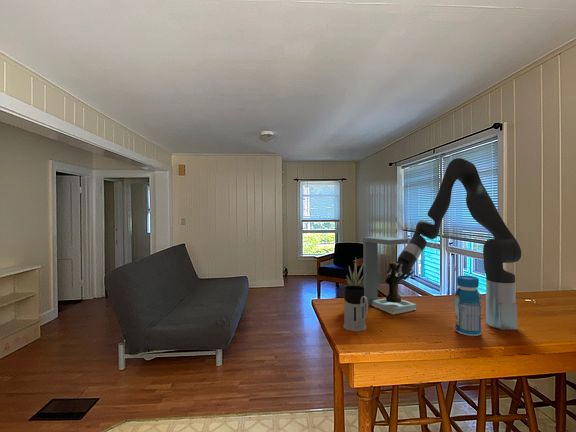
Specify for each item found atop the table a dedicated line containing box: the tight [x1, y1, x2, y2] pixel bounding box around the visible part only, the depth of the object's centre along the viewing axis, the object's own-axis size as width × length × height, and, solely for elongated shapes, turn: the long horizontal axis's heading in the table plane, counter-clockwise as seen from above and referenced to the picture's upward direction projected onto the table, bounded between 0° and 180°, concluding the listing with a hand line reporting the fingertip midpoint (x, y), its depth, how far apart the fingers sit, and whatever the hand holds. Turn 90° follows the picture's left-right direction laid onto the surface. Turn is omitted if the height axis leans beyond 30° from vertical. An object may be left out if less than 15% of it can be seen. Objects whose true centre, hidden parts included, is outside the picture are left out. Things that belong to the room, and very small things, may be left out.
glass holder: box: [342, 285, 369, 332], centre depth 116 cm, size 9×14×15 cm, turn 15°
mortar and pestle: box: [385, 261, 402, 303], centre depth 141 cm, size 7×6×18 cm
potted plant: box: [343, 258, 367, 303], centre depth 134 cm, size 10×10×25 cm
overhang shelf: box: [362, 235, 417, 315], centre depth 142 cm, size 16×17×32 cm
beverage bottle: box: [454, 275, 483, 337], centre depth 112 cm, size 8×8×20 cm
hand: (390, 283), depth 140 cm, fingers closed on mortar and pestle, 4 cm apart
